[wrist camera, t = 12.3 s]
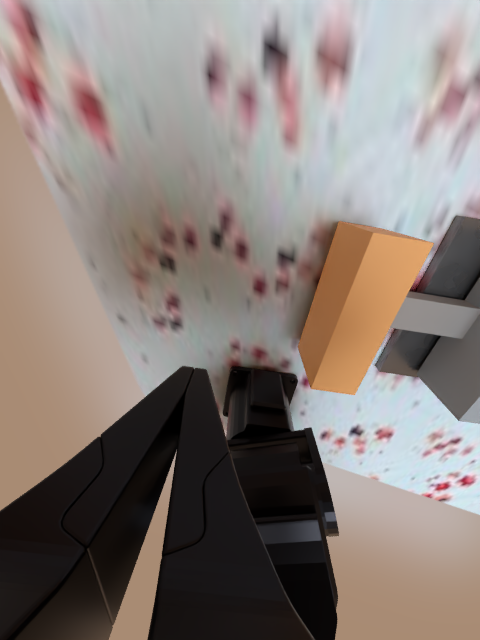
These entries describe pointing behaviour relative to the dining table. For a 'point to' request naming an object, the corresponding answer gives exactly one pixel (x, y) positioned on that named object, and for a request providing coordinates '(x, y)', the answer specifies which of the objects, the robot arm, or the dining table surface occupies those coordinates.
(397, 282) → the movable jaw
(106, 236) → the dining table surface
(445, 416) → the dining table surface
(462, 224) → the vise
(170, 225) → the dining table surface
